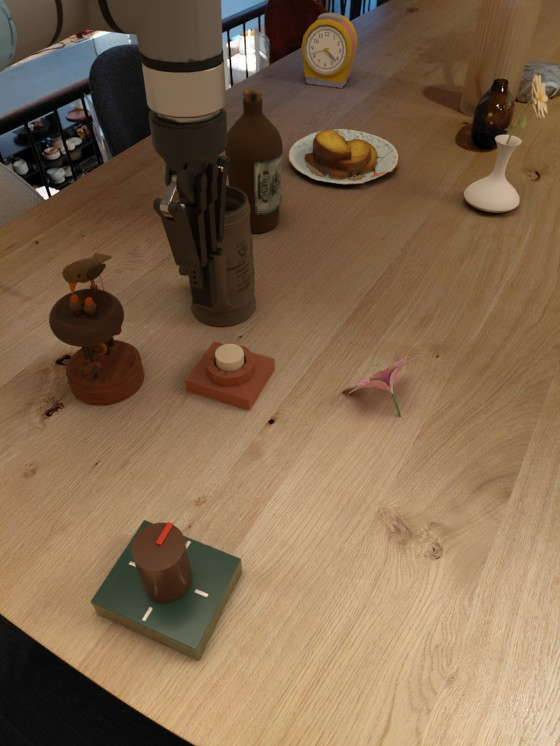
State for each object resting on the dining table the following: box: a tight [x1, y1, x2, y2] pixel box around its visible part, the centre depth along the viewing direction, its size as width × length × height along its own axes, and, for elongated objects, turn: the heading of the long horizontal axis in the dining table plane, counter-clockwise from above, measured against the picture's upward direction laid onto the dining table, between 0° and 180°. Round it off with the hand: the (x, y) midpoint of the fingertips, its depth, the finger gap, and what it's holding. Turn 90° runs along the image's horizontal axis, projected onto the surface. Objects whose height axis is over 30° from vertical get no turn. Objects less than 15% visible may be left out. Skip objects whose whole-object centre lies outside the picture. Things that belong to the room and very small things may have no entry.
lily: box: [341, 351, 422, 418], centre depth 78 cm, size 12×12×10 cm
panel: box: [90, 519, 243, 662], centre depth 60 cm, size 12×10×3 cm
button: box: [215, 343, 244, 372], centre depth 80 cm, size 4×4×2 cm
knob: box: [131, 521, 192, 603], centre depth 56 cm, size 5×5×7 cm
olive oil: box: [224, 87, 284, 234], centre depth 106 cm, size 11×11×25 cm
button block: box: [184, 340, 276, 412], centre depth 82 cm, size 10×9×4 cm
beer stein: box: [178, 184, 257, 328], centre depth 89 cm, size 15×11×20 cm
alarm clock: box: [301, 12, 358, 82], centre depth 166 cm, size 15×8×18 cm, turn 72°
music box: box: [48, 252, 145, 407], centre depth 76 cm, size 15×11×20 cm
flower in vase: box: [463, 74, 549, 214], centre depth 112 cm, size 13×11×25 cm
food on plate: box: [287, 128, 400, 186], centre depth 131 cm, size 25×25×7 cm
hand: (205, 301), depth 71 cm, fingers closed
